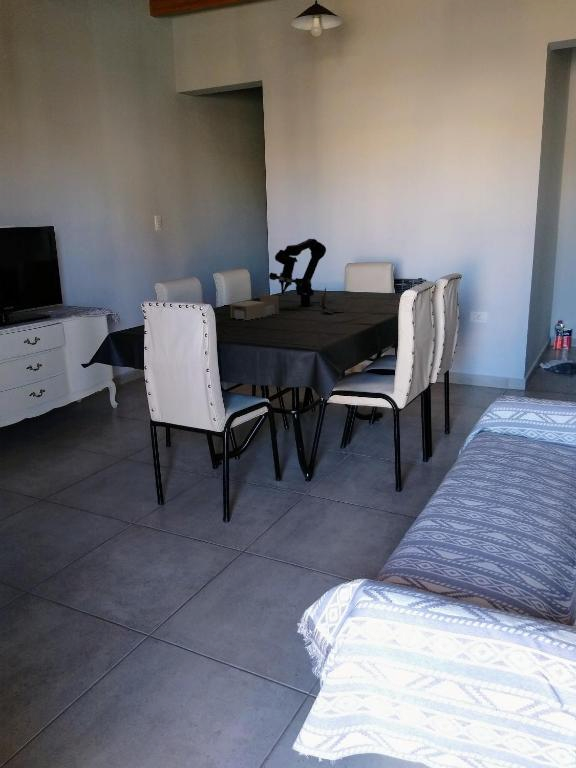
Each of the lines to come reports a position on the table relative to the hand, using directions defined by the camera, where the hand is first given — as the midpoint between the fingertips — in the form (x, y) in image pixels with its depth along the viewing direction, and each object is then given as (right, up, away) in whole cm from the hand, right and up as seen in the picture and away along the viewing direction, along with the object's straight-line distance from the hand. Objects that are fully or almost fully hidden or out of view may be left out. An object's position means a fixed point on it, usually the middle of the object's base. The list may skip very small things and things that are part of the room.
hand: (282, 294), depth 353 cm
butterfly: (+27, -12, -8) cm, 30 cm away
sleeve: (-18, -15, -14) cm, 28 cm away
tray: (-15, -14, -11) cm, 23 cm away
